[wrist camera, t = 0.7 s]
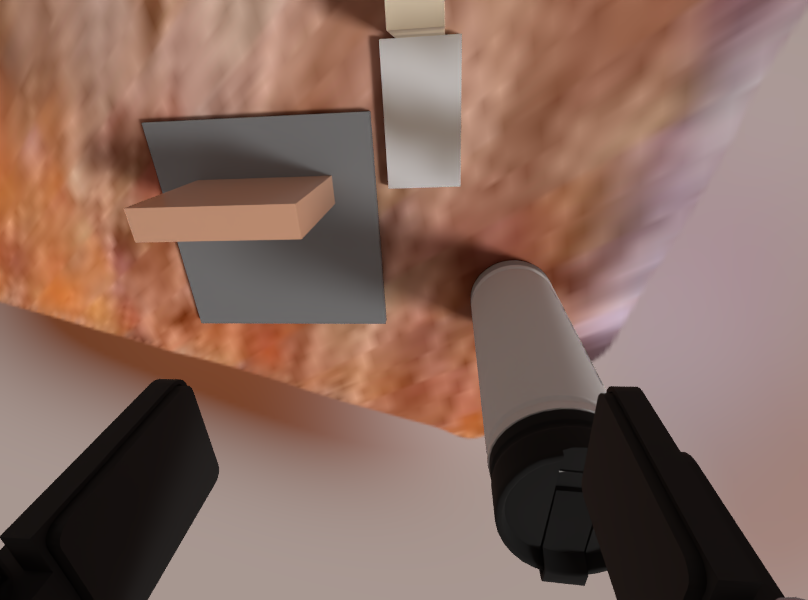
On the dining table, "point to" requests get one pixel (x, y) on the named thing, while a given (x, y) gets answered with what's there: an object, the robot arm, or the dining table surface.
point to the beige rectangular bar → (421, 95)
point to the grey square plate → (282, 259)
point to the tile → (233, 210)
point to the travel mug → (536, 420)
